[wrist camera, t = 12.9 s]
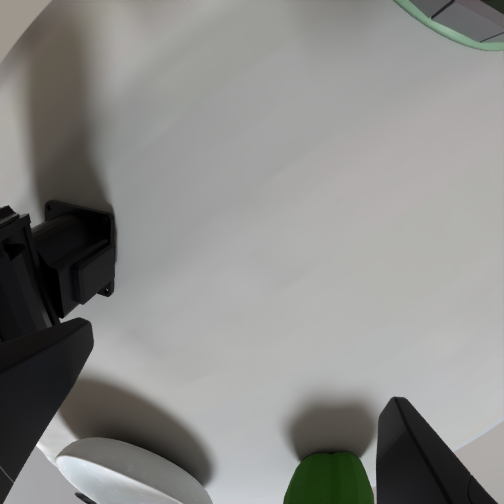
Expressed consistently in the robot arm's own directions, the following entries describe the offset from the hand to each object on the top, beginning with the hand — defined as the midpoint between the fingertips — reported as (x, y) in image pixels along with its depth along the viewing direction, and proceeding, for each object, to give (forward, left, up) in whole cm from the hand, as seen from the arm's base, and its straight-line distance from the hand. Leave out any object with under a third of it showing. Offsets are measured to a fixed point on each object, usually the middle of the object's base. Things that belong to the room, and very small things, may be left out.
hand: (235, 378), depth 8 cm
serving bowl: (-9, -34, -12) cm, 37 cm away
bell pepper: (+11, -22, -12) cm, 27 cm away
